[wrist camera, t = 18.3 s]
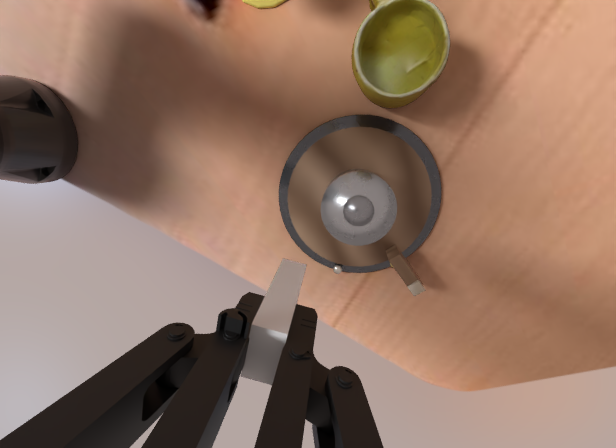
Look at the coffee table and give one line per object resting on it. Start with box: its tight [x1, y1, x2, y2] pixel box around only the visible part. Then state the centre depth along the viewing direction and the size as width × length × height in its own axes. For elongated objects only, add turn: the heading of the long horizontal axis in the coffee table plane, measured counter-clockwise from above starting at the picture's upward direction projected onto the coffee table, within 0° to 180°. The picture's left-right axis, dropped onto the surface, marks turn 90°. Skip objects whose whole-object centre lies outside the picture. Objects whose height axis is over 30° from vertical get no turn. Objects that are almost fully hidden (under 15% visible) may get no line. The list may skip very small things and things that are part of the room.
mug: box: [352, 0, 450, 108], centre depth 32 cm, size 12×10×10 cm
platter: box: [288, 127, 432, 296], centre depth 38 cm, size 19×24×5 cm
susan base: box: [279, 115, 441, 274], centre depth 40 cm, size 22×22×1 cm
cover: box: [321, 169, 397, 246], centre depth 37 cm, size 9×9×5 cm
